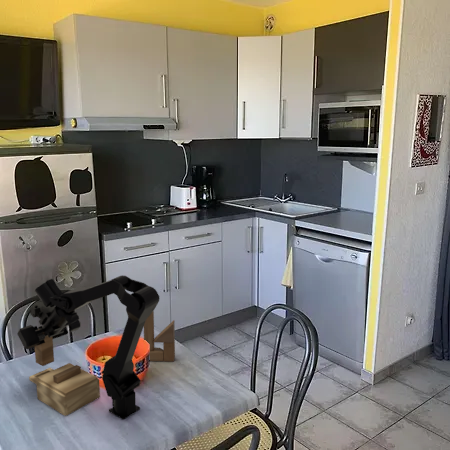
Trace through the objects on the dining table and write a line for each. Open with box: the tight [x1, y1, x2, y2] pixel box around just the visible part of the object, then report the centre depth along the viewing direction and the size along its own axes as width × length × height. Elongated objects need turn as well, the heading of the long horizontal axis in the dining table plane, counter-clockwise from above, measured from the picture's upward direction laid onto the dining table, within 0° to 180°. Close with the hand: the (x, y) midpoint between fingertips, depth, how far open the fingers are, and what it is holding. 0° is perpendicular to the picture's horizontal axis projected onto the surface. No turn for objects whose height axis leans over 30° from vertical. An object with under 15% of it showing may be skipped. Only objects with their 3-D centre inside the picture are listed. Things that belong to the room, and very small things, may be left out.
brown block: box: [34, 329, 55, 367], centre depth 148 cm, size 4×4×11 cm
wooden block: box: [143, 310, 176, 363], centre depth 162 cm, size 4×11×18 cm, turn 89°
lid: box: [37, 362, 99, 396], centre depth 138 cm, size 14×11×3 cm
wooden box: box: [28, 367, 101, 417], centre depth 143 cm, size 26×12×6 cm, turn 53°
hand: (41, 341), depth 148 cm, fingers closed on brown block, 4 cm apart
